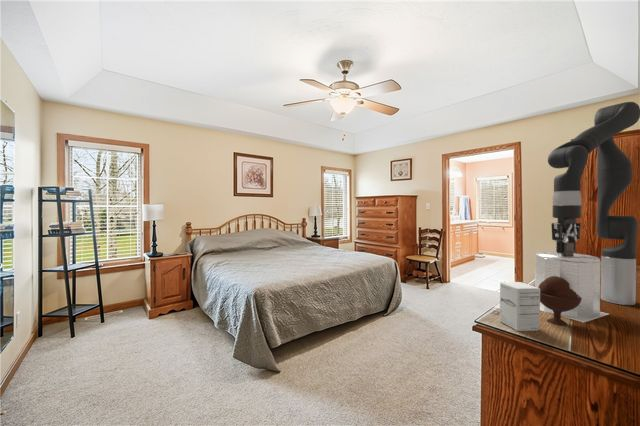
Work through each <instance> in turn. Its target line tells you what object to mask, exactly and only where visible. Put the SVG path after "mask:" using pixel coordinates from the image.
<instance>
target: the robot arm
mask: <svg viewBox="0 0 640 426" xmlns="http://www.w3.org/2000/svg"><path fill="white" fill-rule="evenodd" d="M639 119H640V106H639V104H638V103H637V102H635V101H625V102H620V103H616V104H613V105H608V106H605V107H601V108H599V109H598V110H597V111H596V112H595V115H594V119H593V121H594V123H593V124H594V125H593V126H591V127H590V128H588V129H585V130H584V131H582V132H581V133H579V134H578V135H577V136H576V137H574V138H572V140H570V141H568V142H565V143H563V144H561V145H559V146H557V147H555V148H554V149H553V150H551V152H550V153H549V154H548V156H547V163H548V165H549V166H550V167H551V168H554V169H566V171H565V172H564V173H562V174H559V175H558V174H557V175H556V176H555V177H554V179H553V196H552V218H554V219H557V221H556V222H552V223H551V240H553V241H555V242H556V243H555V244H556V247H555V248H556V249H555V250H556V251H555V252H557V253H565V243H564V242H571V243H574V253H575V252H576V250H577V249H576V246H577V245H576V243H577V241H578V240H580V238H581V226H582V224H581V222H576V219H581V218H582V194H581V188H582V187H581V183H582V181H581V179H582V177H583V173H584V171H585V168H586V165H587V163H588V160H589V154H591V152H594V150H595V149H597V151H596V153H597V155H596V156H597V166H596V167H597V168H596V169H597V170H596V171H597V172H596V173H597V174H596V175H597V176H596V177H597V178H596V179H597V213H596V234H597V237H598V238H600V239H603V240H604V239H605V240H621V241H623V242H622V243H621V244H619V245H615V246H611V247H605V248H602V249H601V251H600V253H601V255H600V300H602V301H604V302H608V303H612V304H616V305H624V306H635V305H636V293H637V291H636V290H637V289H636V285H637V241H638V239H637V238H638V230H639V224H638V222H639V221H638V219H637V218H636V216H632V215H610V211H611V209H612V207H613V204H614V203H616V201H617V200H618V198H619V197H620V196H621V195H622V194H624V192H625V190H627V188H628V187H629V186H630V184H631V183H632V179H633V164H632V162H631V159H630V158H629V157H628V156H627V155H626V154H625V153H624V152H623V151H622V150H621V149H620V148H619V147H618V146H617V144H616V143H615V140H614V136H615V135H617V134H619V133H621V132H623V131H624V130H627V129H628V128H630V127H632V126H634V125H635V124H636V123H638V121H639Z"/></svg>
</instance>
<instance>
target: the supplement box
mask: <svg viewBox="0 0 640 426" xmlns="http://www.w3.org/2000/svg"><path fill="white" fill-rule="evenodd" d="M499 285H500V286H499V322H500V323H503V325H506V326H508V327H509V328H511V329H513V330H515V331H516V332H531V331H532V332H533V331H534V332H535V331H540V316H541V315H540V313H541V310H540V288H537V287H535V286H534V285H531V284H528V283H525V282H522V281H507V282H506V281H504V282H502V281H501V282H500V283H499Z"/></svg>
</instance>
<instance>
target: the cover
mask: <svg viewBox="0 0 640 426" xmlns="http://www.w3.org/2000/svg"><path fill="white" fill-rule="evenodd" d="M564 243H565V253H557V252H556V251H536V252H535V253H534V255H535V261H534V263H535V264H534V265H535V273H534V274H535V275H534V276H535V277H534V285H535V286H534V287H537V288H538V287H539V285H540V283H541V282H543V281H544V280H545V279H547V278H549V277H551V276H558V277H561V278H563V279H565V280H566V281H568V283H569V288H570V289H572V290H573V291H575V292H576V294H577V295H579V296H580V297H581V298H582V299H581V303H580V304H579V305H578V306H577V307H576V308H574V309H572V310H569V311H566V312H562V313H561V317H562V316H566V317H572V318H579V319H593V320H595V319H594V318H596V319H598V318H597V317H599V318H601V317H600V312H601V309H600V308H601V306H600V305H601V257H598V256H593V255H589V254H582V253H575V252H574V243H571V242H567V241H565V242H564ZM540 309H541V310H540V311H542V310H543V311H542V312H545V311H546V312H545V313H549V312H550V314H552V313H553V310H551V309H549V308H547V307H546V306H544V305H543V304H542V303H541V302H540ZM553 315H554V313H553ZM566 317H565V318H566Z"/></svg>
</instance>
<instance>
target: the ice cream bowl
mask: <svg viewBox="0 0 640 426" xmlns="http://www.w3.org/2000/svg"><path fill="white" fill-rule="evenodd" d="M538 288H540V302H541V303H542V304H543V305H544V306H546V307H547V308H549V309H551V310H553V313H554V314H553V316H552V317H550V318H547V319H545V321H546V322H547V323H550V324H551V325H556V326H559V327H561V326H562V327H566V326H567V327H568V326H569V324H568V322H566V321H565V320H563V319H562V318H561V317H562V316H561V313H562V312H566V311H569V310H572V309H574V308H576V307H577V306H578V305H579V304H580V303H581V299H582V298H581V297H580V296H579V295H577V294H576V292H575V291H573V290H572V289H570V288H569V283H568V281H566V280H565V279H563V278H561V277H558V276H551V277H549V278H547V279H545V280H544V281H543V282H541V283H540V285H539V287H538Z"/></svg>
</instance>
